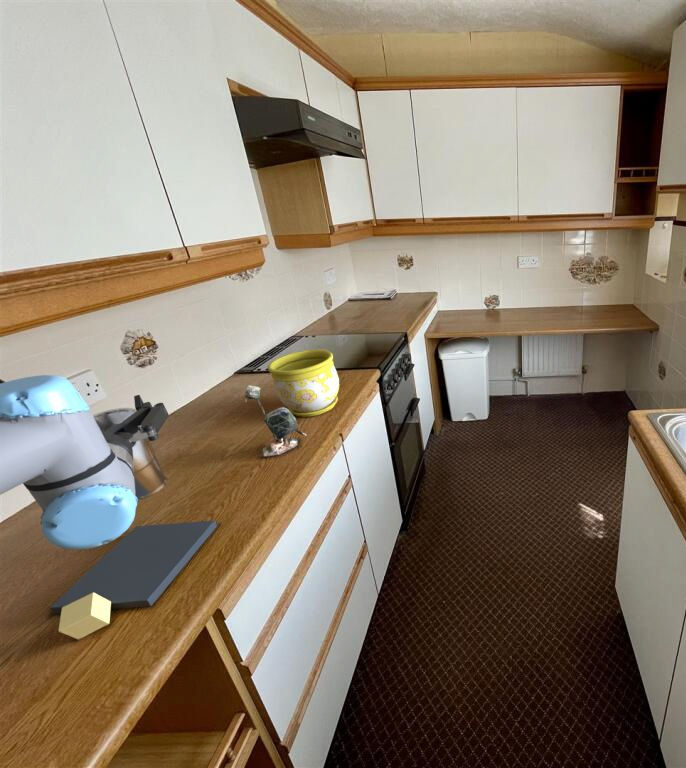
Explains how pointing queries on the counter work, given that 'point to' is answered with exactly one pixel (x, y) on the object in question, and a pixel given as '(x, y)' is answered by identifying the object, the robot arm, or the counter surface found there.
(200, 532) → the tray
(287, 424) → the decorative sculpture
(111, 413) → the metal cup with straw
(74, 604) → the pale yellow cube
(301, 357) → the flowerpot
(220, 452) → the counter surface
